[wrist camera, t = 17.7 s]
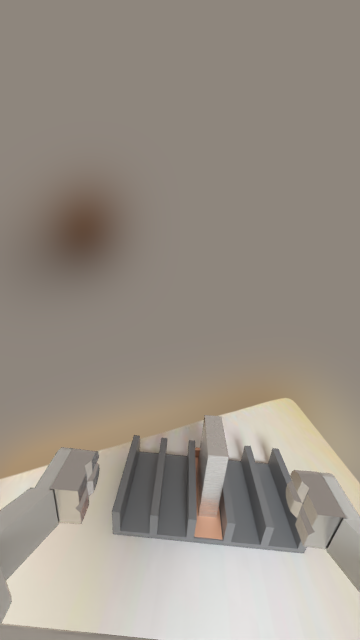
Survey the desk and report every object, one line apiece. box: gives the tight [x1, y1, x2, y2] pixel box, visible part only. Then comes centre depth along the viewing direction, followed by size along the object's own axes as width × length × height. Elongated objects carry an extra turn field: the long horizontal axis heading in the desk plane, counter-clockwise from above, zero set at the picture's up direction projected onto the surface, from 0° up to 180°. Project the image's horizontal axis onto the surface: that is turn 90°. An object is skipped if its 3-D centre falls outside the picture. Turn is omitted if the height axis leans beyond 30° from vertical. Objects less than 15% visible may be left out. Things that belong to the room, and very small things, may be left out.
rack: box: [112, 435, 306, 553], centre depth 41 cm, size 30×15×6 cm, turn 87°
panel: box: [197, 415, 229, 518], centre depth 39 cm, size 3×8×14 cm, turn 178°
